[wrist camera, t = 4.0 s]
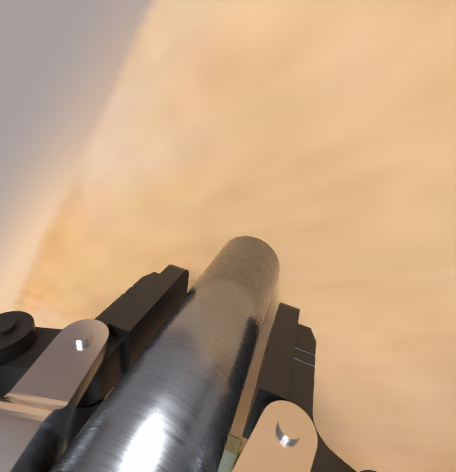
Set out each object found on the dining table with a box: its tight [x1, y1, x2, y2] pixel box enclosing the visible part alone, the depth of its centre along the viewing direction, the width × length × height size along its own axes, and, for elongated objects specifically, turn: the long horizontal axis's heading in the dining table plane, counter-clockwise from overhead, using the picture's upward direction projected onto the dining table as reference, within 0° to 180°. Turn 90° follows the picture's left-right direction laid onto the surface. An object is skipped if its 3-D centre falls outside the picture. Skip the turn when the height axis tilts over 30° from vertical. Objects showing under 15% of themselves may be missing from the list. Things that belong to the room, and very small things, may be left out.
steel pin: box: [48, 236, 279, 472], centre depth 8 cm, size 4×4×12 cm
